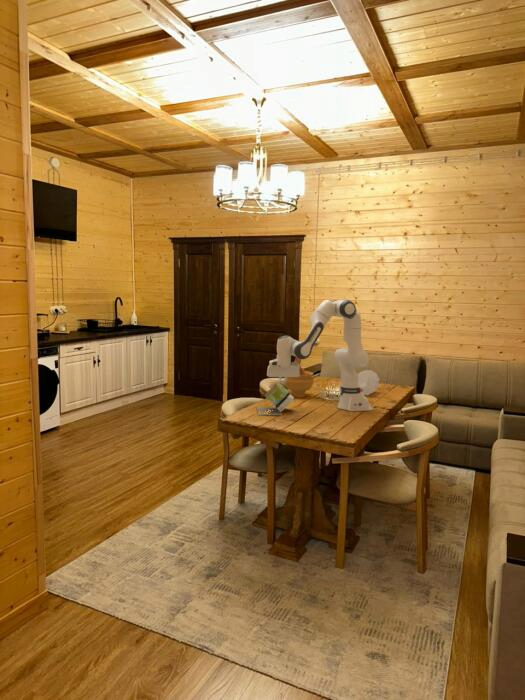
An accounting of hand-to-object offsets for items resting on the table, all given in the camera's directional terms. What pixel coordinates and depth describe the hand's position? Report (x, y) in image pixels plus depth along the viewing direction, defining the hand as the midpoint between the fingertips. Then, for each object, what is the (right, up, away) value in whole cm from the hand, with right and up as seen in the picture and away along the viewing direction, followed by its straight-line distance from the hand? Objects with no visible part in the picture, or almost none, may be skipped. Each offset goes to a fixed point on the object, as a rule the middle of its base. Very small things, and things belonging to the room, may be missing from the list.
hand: (282, 384), depth 298 cm
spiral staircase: (+65, -12, +65) cm, 93 cm away
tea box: (+3, -14, +3) cm, 14 cm away
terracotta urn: (+13, -12, +50) cm, 53 cm away
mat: (-9, -17, +1) cm, 19 cm away
